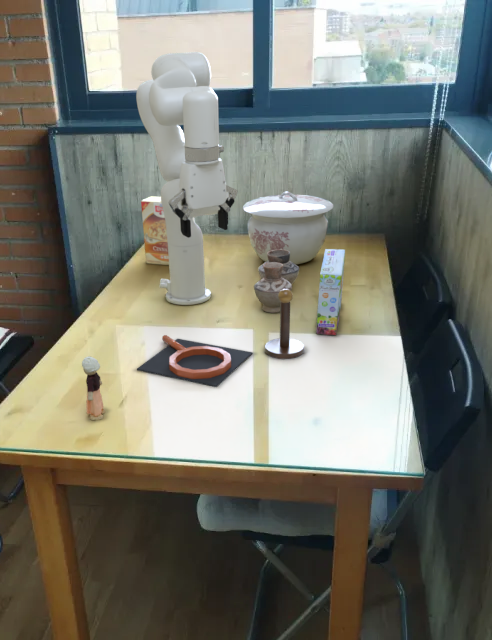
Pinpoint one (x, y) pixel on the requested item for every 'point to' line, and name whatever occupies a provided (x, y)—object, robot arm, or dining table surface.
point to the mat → (194, 362)
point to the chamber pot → (288, 225)
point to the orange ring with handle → (197, 350)
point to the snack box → (330, 291)
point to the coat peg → (284, 332)
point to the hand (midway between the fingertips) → (205, 232)
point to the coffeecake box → (155, 231)
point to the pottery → (275, 279)
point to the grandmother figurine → (93, 389)
